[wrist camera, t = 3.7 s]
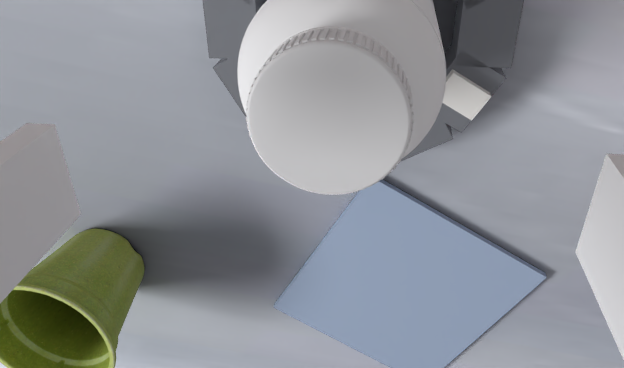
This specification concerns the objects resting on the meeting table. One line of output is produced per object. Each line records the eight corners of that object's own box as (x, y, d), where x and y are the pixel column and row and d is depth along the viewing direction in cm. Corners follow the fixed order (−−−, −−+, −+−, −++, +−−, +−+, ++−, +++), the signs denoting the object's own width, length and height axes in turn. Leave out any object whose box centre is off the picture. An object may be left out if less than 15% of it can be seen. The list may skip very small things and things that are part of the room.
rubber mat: (545, 272, 36) (546, 277, 36) (424, 379, 43) (424, 384, 43) (372, 173, 34) (371, 177, 34) (274, 303, 41) (273, 307, 41)
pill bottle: (362, -100, 26) (328, -71, 14) (463, 19, 28) (516, 140, 16) (259, 12, 30) (155, 119, 17) (355, 110, 32) (327, 270, 19)
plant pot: (53, 287, 44) (-17, 371, 36) (45, 195, 39) (-37, 271, 32) (162, 315, 44) (114, 405, 36) (168, 226, 39) (114, 309, 31)
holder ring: (580, -40, 26) (600, -30, 24) (398, 188, 34) (397, 214, 32) (302, -232, 24) (290, -244, 21) (177, 61, 32) (157, 78, 29)
